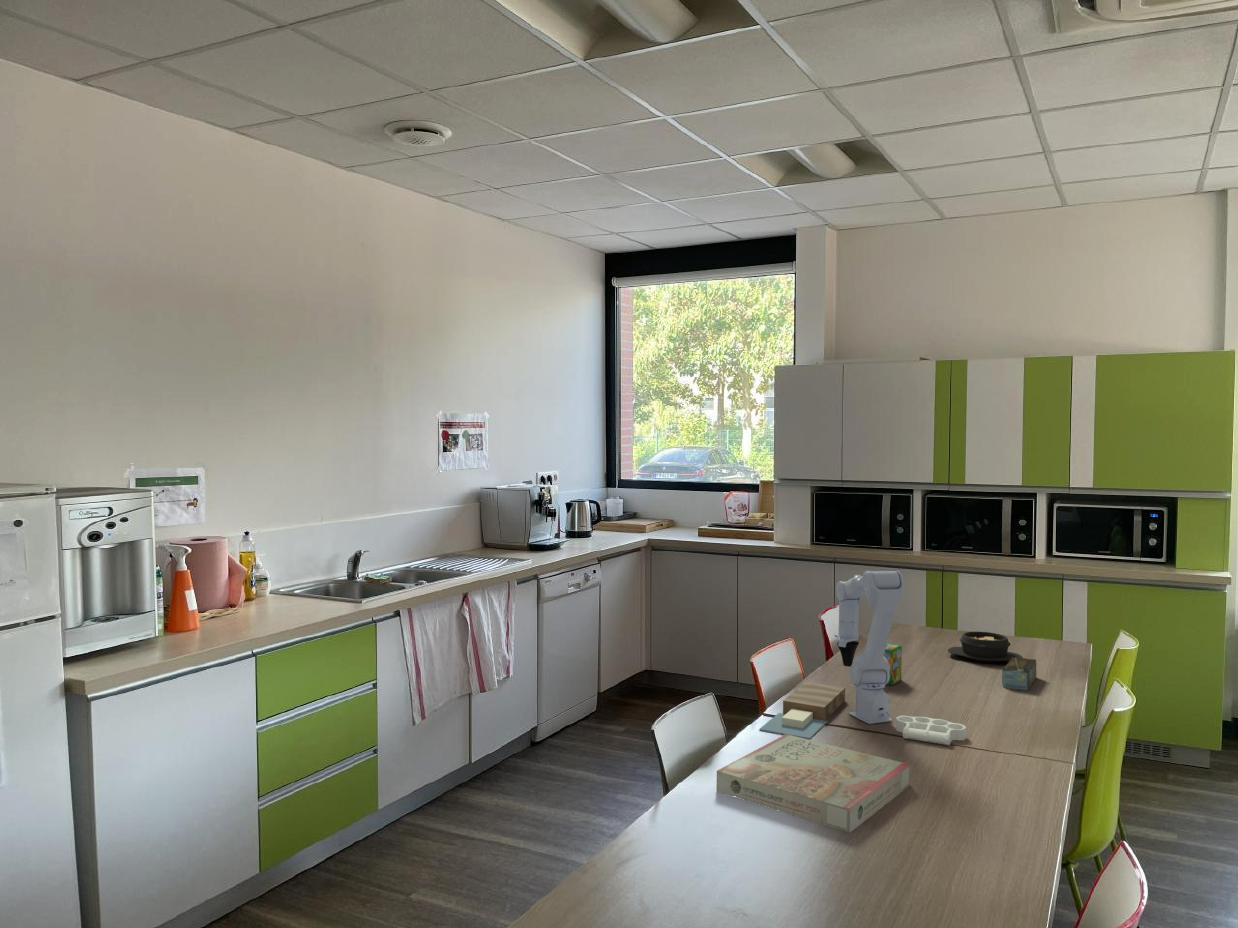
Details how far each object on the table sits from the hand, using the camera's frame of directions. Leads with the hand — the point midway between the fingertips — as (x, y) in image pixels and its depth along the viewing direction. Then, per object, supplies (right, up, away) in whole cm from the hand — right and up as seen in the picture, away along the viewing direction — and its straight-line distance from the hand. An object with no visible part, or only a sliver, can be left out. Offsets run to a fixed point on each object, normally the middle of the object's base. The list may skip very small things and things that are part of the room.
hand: (847, 665), depth 273 cm
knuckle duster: (+14, -12, -30) cm, 36 cm away
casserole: (+62, -9, +51) cm, 81 cm away
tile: (-19, -11, -22) cm, 31 cm away
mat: (-21, -11, -24) cm, 34 cm away
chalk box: (+17, -10, +22) cm, 30 cm away
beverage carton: (+61, -11, +21) cm, 66 cm away
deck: (-11, -11, -7) cm, 17 cm away
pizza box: (-25, -14, -67) cm, 73 cm away
